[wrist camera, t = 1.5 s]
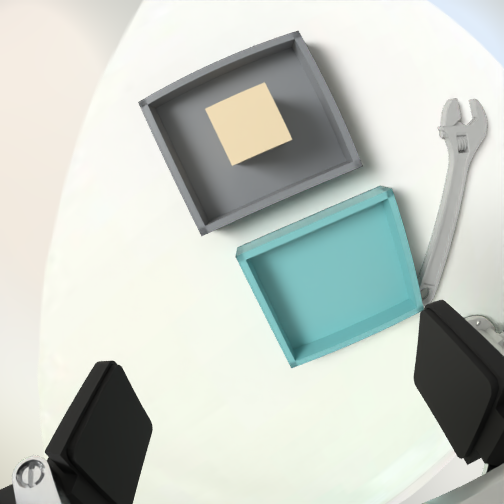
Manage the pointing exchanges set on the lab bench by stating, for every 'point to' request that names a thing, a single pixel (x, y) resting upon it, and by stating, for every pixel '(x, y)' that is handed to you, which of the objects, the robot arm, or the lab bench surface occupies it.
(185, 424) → the lab bench surface
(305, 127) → the charcoal bin
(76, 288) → the lab bench surface
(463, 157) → the adjustable wrench
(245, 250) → the teal bin
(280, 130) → the sandstone block
